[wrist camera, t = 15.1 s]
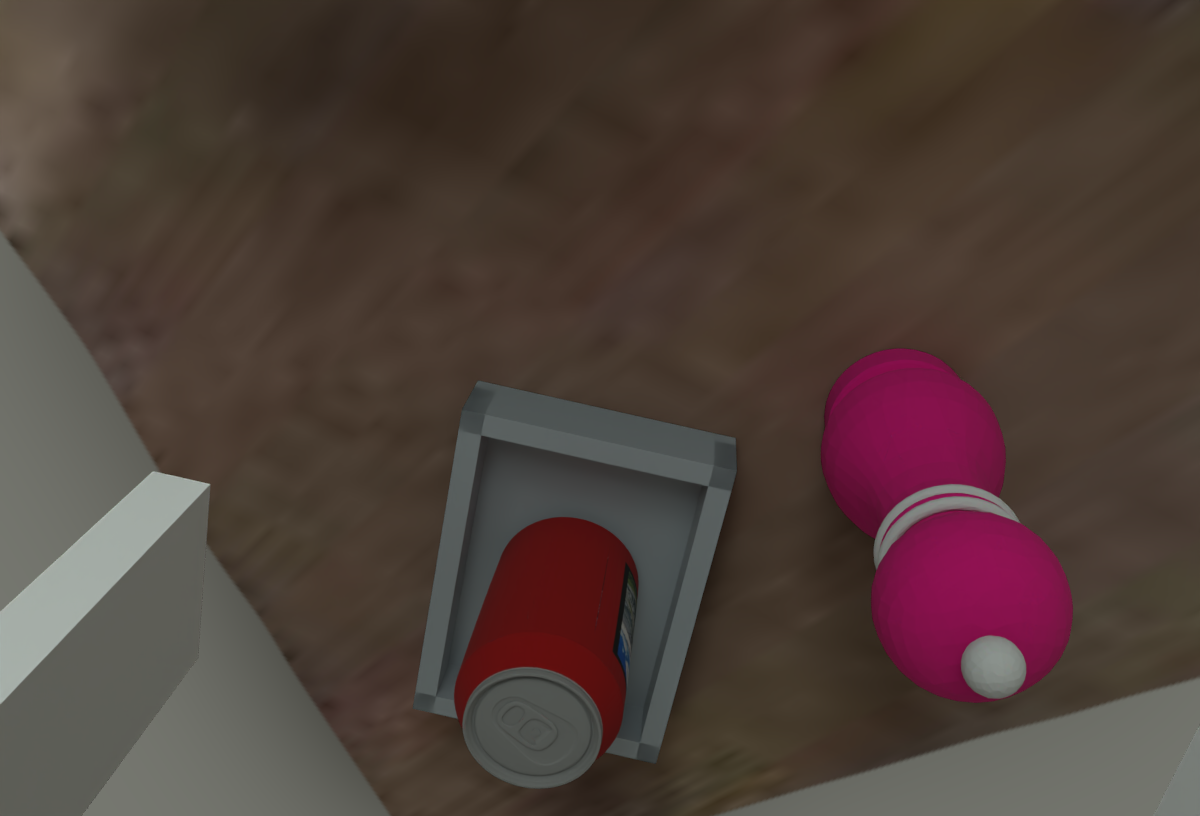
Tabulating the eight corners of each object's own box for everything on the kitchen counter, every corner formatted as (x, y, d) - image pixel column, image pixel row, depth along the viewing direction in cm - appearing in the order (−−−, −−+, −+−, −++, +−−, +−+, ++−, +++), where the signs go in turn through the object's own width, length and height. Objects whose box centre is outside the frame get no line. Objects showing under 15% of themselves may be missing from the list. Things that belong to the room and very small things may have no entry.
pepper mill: (950, 312, 48) (1097, 537, 29) (1000, 455, 50) (1165, 749, 32) (789, 371, 49) (832, 620, 31) (844, 507, 52) (915, 815, 33)
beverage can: (581, 655, 55) (547, 832, 44) (472, 575, 54) (409, 736, 43) (670, 566, 53) (657, 729, 42) (557, 480, 52) (514, 624, 41)
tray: (478, 380, 51) (461, 409, 48) (735, 438, 51) (736, 471, 48) (429, 665, 57) (412, 708, 54) (659, 718, 57) (655, 763, 54)
